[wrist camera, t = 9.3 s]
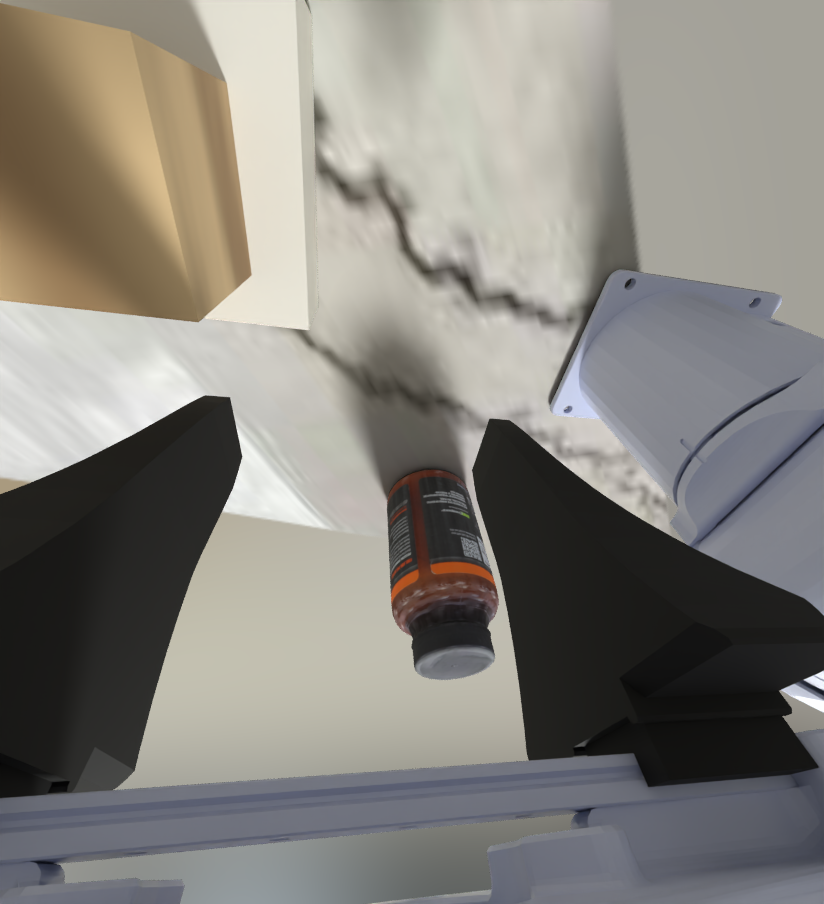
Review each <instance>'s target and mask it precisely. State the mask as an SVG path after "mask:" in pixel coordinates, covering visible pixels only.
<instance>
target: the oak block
mask: <svg viewBox="0 0 824 904" xmlns="http://www.w3.org/2000/svg"><path fill="white" fill-rule="evenodd" d="M250 276H252V273H251V265H250V258H249V250H248V242H247V234H246V227H245V219H244V211H243V204H242V196H241V188H240V181H239V173H238V165H237V157H236V150H235V142H234V134H233V127H232V119H231V111H230V104H229V96H228V88H227V83H226V82H224V81H222V80H220V79H218V78H216V77H214V76H212V75H211V74H209V73H207V72H205V71H203V70H201V69H199V68H197V67H196V66H194V65H192V64H190V63H188V62H186V61H184V60H183V59H181V58H179V57H177V56H175V55H173V54H171V53H169V52H168V51H166V50H164V49H162V48H160V47H158V46H156V45H155V44H153V43H151V42H149V41H147V40H145V39H143V38H141V37H140V36H138V35H136V34H134V33H132V32H130V31H126V30H121V29H117V28H112V27H107V26H103V25H98V24H94V23H89V22H85V21H80V20H75V19H71V18H66V17H62V16H57V15H53V14H48V13H44V12H39V11H34V10H30V9H25V8H21V7H16V6H12V5H7V4H2V3H0V300H2V301H11V302H20V303H29V304H38V305H47V306H56V307H65V308H75V309H84V310H93V311H102V312H111V313H120V314H129V315H138V316H147V317H156V318H165V319H174V320H183V321H192V322H199V321H200V320H202V319H203V318H204V317H205V316H206V315H207V314H208V313H210V312H211V311H212V310H213V309H214V308H215V307H216V306H217V305H219V304H220V303H221V302H222V301H223V300H224V299H225V298H227V297H228V296H229V295H230V294H231V293H232V292H233V291H235V290H236V289H237V288H238V287H239V286H240V285H241V284H242V283H244V282H245V281H246V280H247V279H248V278H249V277H250Z"/></svg>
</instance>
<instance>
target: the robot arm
mask: <svg viewBox="0 0 824 904" xmlns="http://www.w3.org/2000/svg"><path fill="white" fill-rule="evenodd" d="M630 278H631V283H630V284H629V286H627V287H626V288H625V287H624V286H625V283H626V282H627V280H629V279H630ZM753 299H754V300H753ZM752 300H753V302H752V303H751V304H750V302H751V301H752ZM781 302H782V297H781V296H780V295H778V294H775V293H769V292H763V291H757V290H750V289H744V288H737V287H731V286H725V285H718V284H712V283H706V282H699V281H693V280H687V279H680V278H674V277H667V276H661V275H655V274H648V273H642V272H636V271H629V270H623V269H621V270H617V271H615V272H613V273H612V274H611V275H610V276H609V278H608V279H607V282H606V284H605V286H604V288H603V290H602V293H601V295H600V297H599V299H598V301H597V304H596V306H595V308H594V310H593V312H592V315H591V317H590V319H589V321H588V323H587V326H586V328H585V330H584V332H583V334H582V337H581V339H580V341H579V343H578V345H577V348H576V350H575V352H574V354H573V356H572V359H571V361H570V363H569V365H568V367H567V370H566V372H565V374H564V376H563V378H562V381H561V383H560V385H559V387H558V389H557V392H556V394H555V396H554V398H553V400H552V403H551V405H550V410H551V412H552V413H553V414H554V415H557V416H569V417H580V418H592V419H601V420H602V421H603V422H604V423H605V425H606V426H607V427H608V428H609V429H610V430H611V431H612V433H613V434H614V435H615V436H616V437H617V438H618V439H619V441H620V442H621V443H622V444H623V445H624V446H625V447H626V449H627V450H628V451H629V452H630V453H631V454H632V455H633V457H634V458H635V459H636V460H637V461H638V462H639V464H640V465H641V466H642V467H643V468H644V469H645V470H646V472H647V473H648V474H649V475H650V476H651V477H652V478H653V480H654V481H655V482H656V483H657V484H658V485H659V486H660V488H661V489H662V490H663V491H664V492H665V493H666V494H667V496H668V497H669V498H670V499H671V500H672V501H673V502H674V504H675V505H676V506H677V507H678V510H677V512H676V514H675V516H674V517H673V519H672V520H671V521H670V524H671V526H672V527H673V528H674V529H675V530H676V532H677V533H678V534H679V535H680V537H681V538H682V539H683V540H684V542H685V543H686V544H685V543H683V542H681V541H679V540H677V539H675V538H673V537H671V536H670V535H668V534H666V533H664V532H663V531H661V530H659V529H657V528H655V527H654V526H652V525H650V524H648V523H647V522H645V521H643V520H642V519H640V518H638V517H637V516H635V515H633V514H632V513H630V512H628V511H627V510H625V509H624V508H622V507H621V506H619V505H618V504H616V503H615V502H613V501H612V500H610V499H609V498H607V497H606V496H604V495H603V494H601V493H600V492H598V491H597V490H596V489H594V488H593V487H591V486H590V485H589V484H588V483H586V482H585V481H584V480H582V479H581V478H580V477H578V476H577V475H576V474H574V473H573V472H572V471H571V470H569V469H568V468H567V467H566V466H564V465H563V464H562V463H561V462H559V461H558V460H557V459H556V458H555V457H553V456H552V455H551V454H550V453H549V452H547V451H546V450H545V449H544V448H543V447H542V446H540V445H539V444H538V443H537V442H536V441H535V440H533V439H532V438H531V437H530V436H529V435H528V434H526V433H525V432H524V431H523V430H522V429H520V428H519V427H518V426H517V425H515V424H514V423H513V422H511V421H510V420H501V419H489V422H488V425H487V428H486V431H485V434H484V437H483V440H482V443H481V446H480V449H479V452H478V455H477V458H476V461H475V463H474V466H473V469H472V472H473V479H474V486H475V491H476V497H477V501H478V505H479V508H480V511H481V514H482V518H483V521H484V524H485V527H486V530H487V534H488V537H489V540H490V543H491V546H492V549H493V553H494V556H495V559H496V562H497V566H498V569H499V573H500V577H501V581H502V586H503V591H504V596H505V601H506V606H507V611H508V617H509V622H510V628H511V634H512V640H513V646H514V652H515V659H516V666H517V673H518V680H519V687H520V694H521V703H522V712H523V720H524V728H525V739H526V749H527V755H528V759H529V761H519V762H518V761H517V762H503V763H489V764H476V765H462V766H448V767H433V768H419V769H406V770H391V771H377V772H363V773H349V774H336V775H321V776H307V777H293V778H278V779H264V780H250V781H236V782H222V783H208V784H194V785H181V786H167V787H152V788H138V789H124V790H113V789H115V788H117V787H118V786H119V785H120V784H121V783H123V782H124V781H125V780H126V779H127V778H128V777H129V776H130V775H131V774H132V773H133V772H134V771H135V766H136V763H137V759H138V754H139V750H140V746H141V742H142V739H143V735H144V731H145V727H146V723H147V720H148V716H149V711H150V708H151V704H152V700H153V697H154V693H155V690H156V687H157V683H158V680H159V676H160V673H161V670H162V666H163V663H164V659H165V656H166V652H167V649H168V646H169V643H170V640H171V637H172V634H173V631H174V627H175V624H176V621H177V618H178V615H179V612H180V609H181V606H182V603H183V600H184V597H185V594H186V592H187V589H188V586H189V583H190V580H191V577H192V575H193V572H194V570H195V568H196V565H197V563H198V561H199V558H200V556H201V554H202V552H203V550H204V548H205V546H206V544H207V541H208V539H209V537H210V535H211V533H212V531H213V529H214V527H215V525H216V523H217V521H218V518H219V517H220V514H221V512H222V510H223V508H224V506H225V504H226V502H227V500H228V497H229V495H230V493H231V491H232V489H233V486H234V483H235V480H236V477H237V473H238V470H239V466H240V463H241V459H242V453H241V448H240V443H239V439H238V434H237V429H236V424H235V419H234V415H233V410H232V405H231V400H230V397H218V396H206V395H205V396H203V397H201V398H199V399H197V400H195V401H193V402H191V403H189V404H187V405H185V406H184V407H182V408H180V409H178V410H177V411H175V412H173V413H171V414H169V415H168V416H166V417H164V418H162V419H161V420H159V421H157V422H155V423H153V424H152V425H150V426H148V427H146V428H144V429H143V430H141V431H139V432H137V433H135V434H134V435H132V436H130V437H128V438H126V439H124V440H122V441H120V442H118V443H116V444H114V445H112V446H110V447H108V448H106V449H104V450H102V451H100V452H98V453H96V454H94V455H92V456H91V457H88V458H86V459H84V460H82V461H80V462H78V463H76V464H73V465H71V466H69V467H67V468H64V469H62V470H60V471H58V472H55V473H53V474H50V475H48V476H46V477H43V478H41V479H39V480H36V481H34V482H31V483H29V484H27V485H24V486H21V487H19V488H16V489H14V490H11V491H8V492H5V493H3V494H0V904H180V901H181V897H182V894H183V890H184V883H183V881H182V880H140V879H137V878H129V879H117V880H104V881H91V882H78V883H66V884H65V882H64V877H65V875H64V870H63V869H62V867H61V866H60V865H57V864H61V863H70V862H81V861H92V860H102V859H112V858H122V857H132V856H143V855H153V854H163V853H174V852H184V851H195V850H205V849H214V848H226V847H236V846H246V845H257V844H266V843H277V842H286V841H298V840H307V839H318V838H328V837H339V836H349V835H360V834H370V833H380V832H390V831H401V830H411V829H421V828H432V827H441V826H452V825H462V824H473V823H483V822H493V821H504V820H514V819H523V818H535V817H545V816H555V815H566V814H575V815H574V817H573V819H572V821H571V830H567V831H560V832H553V833H546V834H539V835H532V836H525V837H523V838H521V839H520V840H516V841H512V842H508V843H503V844H498V845H493V846H489V849H488V851H487V856H488V862H489V868H490V875H491V881H492V888H491V890H484V891H475V892H466V893H458V894H448V895H440V896H431V897H422V898H413V899H405V900H395V901H387V902H379V903H370V904H824V729H817V730H809V731H804V732H798V733H794V732H793V730H792V729H791V728H790V726H789V725H788V724H787V722H786V721H785V720H784V718H783V717H782V716H786V715H789V714H791V713H792V708H791V707H790V706H789V704H788V703H787V701H786V700H785V699H784V697H783V696H782V695H781V693H780V692H779V690H782V691H783V692H785V693H787V694H788V695H790V696H792V697H794V698H796V699H798V700H800V701H802V702H804V703H806V704H808V705H810V706H811V707H813V708H816V709H818V710H820V711H822V712H824V339H823V338H821V337H818V336H816V335H813V334H811V333H808V332H805V331H803V330H800V329H798V328H795V327H793V326H790V325H788V324H785V323H783V322H780V321H777V320H775V319H772V318H771V316H772V315H773V314H774V313H775V311H776V310H777V309H778V307H779V306H780V304H781ZM567 406H569V408H568V409H566V410H564V409H565V407H567ZM576 813H578V814H576Z"/></svg>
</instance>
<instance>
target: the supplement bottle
mask: <svg viewBox="0 0 824 904" xmlns="http://www.w3.org/2000/svg"><path fill="white" fill-rule="evenodd" d="M387 515H388V536H389V558H390V559H389V561H390V580H391V581H390V582H391V603H392V612H393V617H394V619H395V621H396V623H397V625H398V626H399V628H400V629H401V630H403V631H404V632H405V633H407V634H409V635H411V636H412V637H413V641H412V649H413V656H414V667H415V670H416V672H417V673H418V674H420V675H421V676H423V677H426V678H429V679H438V680H450V679H457V678H463V677H467V676H471V675H474V674H477V673H479V672H481V671H483V670H485V669H487V668H488V667H489V666H490V665H491V664H492V663H493V662H494V659H495V654H494V650H493V646H492V642H491V637H490V636H491V633H490V631H489V630H488V629H487V627H488V624H489V622H490V621H491V620H492V619H493V618H494V617H495V614H496V612H497V608H498V605H499V599H498V594H497V589H496V586H495V582H494V579H493V575H492V571H491V568H490V565H489V561H488V558H487V554H486V551H485V547H484V544H483V540H482V537H481V534H480V530H479V527H478V523H477V520H476V516H475V512H474V509H473V506H472V502H471V499H470V496H469V493H468V490H467V488H466V486H465V484H464V482H463V481H462V480H461V479H459V478H458V477H457V476H455V475H454V474H452V473H449V472H446V471H442V470H431V469H430V470H423V471H418V472H415V473H412V474H409V475H407V476H405V477H404V478H402V479H401V480H400V481H398V482H397V483H396V484H395V485H394V487H393V488H392V489H391V491H390V493H389V496H388V502H387Z"/></svg>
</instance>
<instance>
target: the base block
mask: <svg viewBox="0 0 824 904" xmlns="http://www.w3.org/2000/svg"><path fill="white" fill-rule="evenodd" d="M0 3H2V4H7V5H12V6H16V7H21V8H25V9H30V10H34V11H39V12H44V13H48V14H53V15H57V16H62V17H66V18H71V19H75V20H80V21H85V22H89V23H94V24H98V25H103V26H107V27H112V28H117V29H121V30H126V31H130V32H132V33H134V34H136V35H138V36H140V37H141V38H143V39H145V40H147V41H149V42H151V43H153V44H155V45H156V46H158V47H160V48H162V49H164V50H166V51H168V52H169V53H171V54H173V55H175V56H177V57H179V58H181V59H183V60H184V61H186V62H188V63H190V64H192V65H194V66H196V67H197V68H199V69H201V70H203V71H205V72H207V73H209V74H211V75H212V76H214V77H216V78H218V79H220V80H222V81H224V82H226V83H227V88H228V96H229V104H230V111H231V119H232V127H233V134H234V142H235V150H236V157H237V165H238V173H239V181H240V188H241V196H242V204H243V211H244V219H245V227H246V234H247V242H248V250H249V258H250V265H251V273H252V276H250V277H249V278H248V279H247V280H246V281H245V282H244V283H242V284H241V285H240V286H239V287H238V288H237V289H236V290H235V291H233V292H232V293H231V294H230V295H229V296H228V297H227V298H225V299H224V300H223V301H222V302H221V303H220V304H219V305H217V306H216V307H215V308H214V309H213V310H212V311H211V312H210V313H208V314H207V315H206V316H205V317H204V318H205V319H214V320H223V321H232V322H241V323H250V324H259V325H268V326H277V327H286V328H294V329H303V330H309V329H310V326H311V324H312V321H313V319H314V317H315V314H316V312H317V310H318V264H317V219H316V175H315V131H314V86H313V42H312V15H311V13H310V11H309V9H308V6H307V4H306V2H305V0H0Z"/></svg>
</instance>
